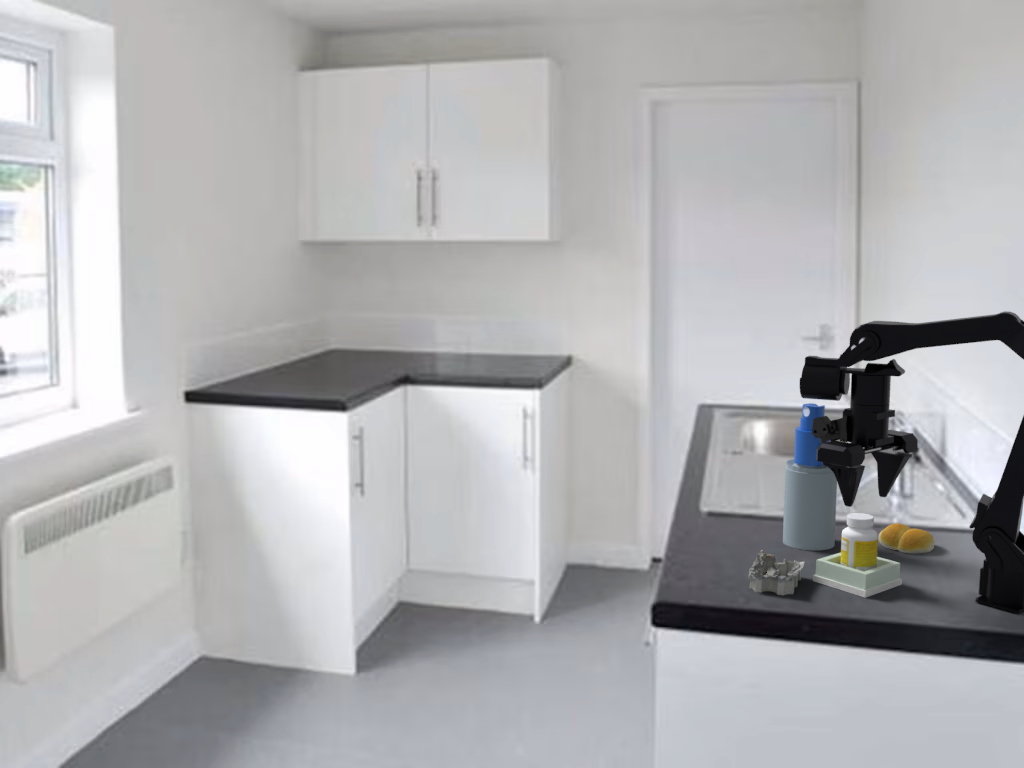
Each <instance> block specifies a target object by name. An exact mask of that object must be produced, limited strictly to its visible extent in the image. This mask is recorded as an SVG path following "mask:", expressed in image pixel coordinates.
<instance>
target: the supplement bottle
mask: <svg viewBox="0 0 1024 768" xmlns="http://www.w3.org/2000/svg"><path fill="white" fill-rule="evenodd" d="M846 525H847V527H845V528H843V529H842V532H841V540H840V552H841V564H840V565H843V566H847V567H850V568H854V569H857V570H860V571H867V570H870V569H873V568H876V567H877V557H878V547H879V546H878V545H879V544H878V543H879V539H878V536H879V533H877V531H876V530H875V529H874V528H873V527H874V525H875V517H874V516H873V515H872V514H868V513H862V512H853V513H848V514H847V515H846Z"/></svg>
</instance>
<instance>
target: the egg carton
mask: <svg viewBox="0 0 1024 768" xmlns="http://www.w3.org/2000/svg"><path fill="white" fill-rule="evenodd" d="M804 565H805V561H797V560H796V559H794V560H793V561H790V560H789V559H787V558H784V559H783V562H777V560H776V557H775V555H773V554H770V553H765V551H764V549H761V550H760V551H759V552H758V553H757V555H756V558H755V560H754V561H753V562H752V565H751V566H750V568H749V569H748V576H747V579H749V582H750V583H749V589H751V590H753V591H754V592H755V593H760V594H761V593H763V592H772V593H775V594H776V595H778V596H785V595H794V594H795V593H794V592H795V588H798V586H799V585H798V582H799V581H801V579H802V569H803V568H804ZM766 572H767V573H766Z"/></svg>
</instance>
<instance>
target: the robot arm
mask: <svg viewBox="0 0 1024 768" xmlns="http://www.w3.org/2000/svg"><path fill="white" fill-rule="evenodd" d="M991 341H1000V342H1001V343H1003V344H1004V345H1005V346H1007V347H1008V348H1009V349H1010V350H1011V351H1012V352H1014V353H1015V354H1017V356H1018V357H1020V358H1021V359H1022V360H1024V320H1023V319H1021V318H1020V316H1018V314H1016V313H1015V312H1012V311H1001V312H999V313H996V314H995V313H993V314H987V315H978V316H970V317H969V316H968V317H961V318H953V319H944V320H934V321H928V322H927V321H925V322H918V323H917V322H904V321H891V320H890V321H888V320H872V321H869V322H867V323H863V324H860V325H859V326H857V327H855V329H854V330H853V331H852V332H851V335H850V336H849V346H847V348H846V349H845V350H844V351H843V353H841V354H839V357H838V358H836V357H822V356H818V355H808V356H805V357H804V365H803V366H802V367H803V368H802V371H801V375H800V376H801V377H799V392H800V397H801V398H802V399H808V400H823V401H838V402H839V401H841V399H842V396H847V395H848V394H849V391H850V403H849V404H850V406H849V407H848V408H843V411H842V416H841V418H837V419H836V418H835V419H832V420H831V418H829V417H828V415H824V416H822V417H818V418H814V419H813V424H812V435H814V437H816V438H819V440H820V443H821V445H820V446H819V447H818V448H817V458H816V460H817V461H820V462H822V464H823V465H824V466H827V467H829V468H830V469H831V470H832V471H833V473H834V475H835V477H836V480H837V486H838V488H839V492H840V495H841V498H842V501H843V504H844V506H846V507H849V508H851V507H853V505H854V502H855V500H856V497H857V494H858V492H859V488H860V484H861V481H862V478H863V475H864V471H865V468H866V465H863V462H864V461H865V459H866V455H869V454H871V456H872V457H873V459H874V460H875V461H876V465H877V468H876V469H877V471H876V472H877V488H878V489H877V490H878V497H880V498H886V497H888V494H889V493H890V491H891V489H892V488H893V486H894V484H895V483H896V481H897V479H898V477H899V475H900V474H901V472H902V470H904V468H905V466H906V465H907V463H908V461H909V460H910V459H911V458H913V454H912V453H915V452H918V438H917V437H916V436H915V434H914V433H912V432H907V431H906V432H905V431H901V430H900V431H899V430H894V429H889V425H890V424H889V423H890V418H894V417H896V410H895V409H890V402H891V401H890V400H891V398H890V397H891V381H892V380H891V378H892V377H900V376H902V375H904V374H905V373H906V370H905V369H904V368H903V367H901V365H899V364H898V362H897V360H896V359H895V358H892V359H891V360H888V363H875V361H879V360H882V359H885V358H889V357H892V356H896V355H899V354H902V353H905V352H910V351H912V350H916V349H923V348H924V349H925V348H933V347H943V346H945V347H946V346H952V345H953V346H954V345H961V344H962V345H963V344H974V343H981V342H982V343H983V342H991ZM862 361H864V362H868V363H866V365H865V367H864V368H860V367H858V368H857V367H852V366H855V365H856V364H859V363H861V362H862ZM873 361H874V363H873ZM850 375H851V378H850ZM826 441H830V442H826ZM825 442H826V443H825ZM1023 508H1024V415H1023V416H1022V419H1021V421H1020V424H1019V428H1018V430H1017V433H1016V436H1015V437H1014V441H1013V444H1012V447H1011V449H1010V452H1009V456H1008V458H1007V461H1006V463H1005V467H1004V469H1003V472H1002V475H1001V478H1000V480H999V483H998V487H997V489H996V491H995V492H994V494H993V496H992V497H991V496H989V495H988V494H986V493H982V495H981V497H980V499H979V501H978V502H977V508H976V514H975V516H974V518H973V519H972V521H971V523H970V525H969V529H973V531H972V542H973V543H974V545H975V547H976V549H977V550H979V552H981V553H983V554H984V558H985V559H983V562H982V563H983V565H982V567H980V569H979V581H978V583H979V584H978V594H979V596H977V597H975V599H974V600H975V602H977V603H980V604H983V605H986V606H990V607H994V608H997V609H1000V610H1004V611H1007V612H1011V613H1014V614H1021V613H1022V612H1024V533H1023V532H1022V531H1021V523H1022V519H1023V518H1022V516H1023Z"/></svg>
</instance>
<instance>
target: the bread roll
mask: <svg viewBox="0 0 1024 768" xmlns="http://www.w3.org/2000/svg"><path fill="white" fill-rule="evenodd" d="M878 543H880V544H881V546H883V547H884V548H886V549H889V550H893V551H898V552H900V553H905V554H928V553H931V552H932V551H933V550H934V548H935V538H934V536H933V534H931V533H930V532H929V531H927V530H924V529H920V528H911V527H909V526H908V525H906V524H902V523H891V524H889V525H888V526H886V527H885V528H884V529H882V530H881V531H880V532H879V533H878Z"/></svg>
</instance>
